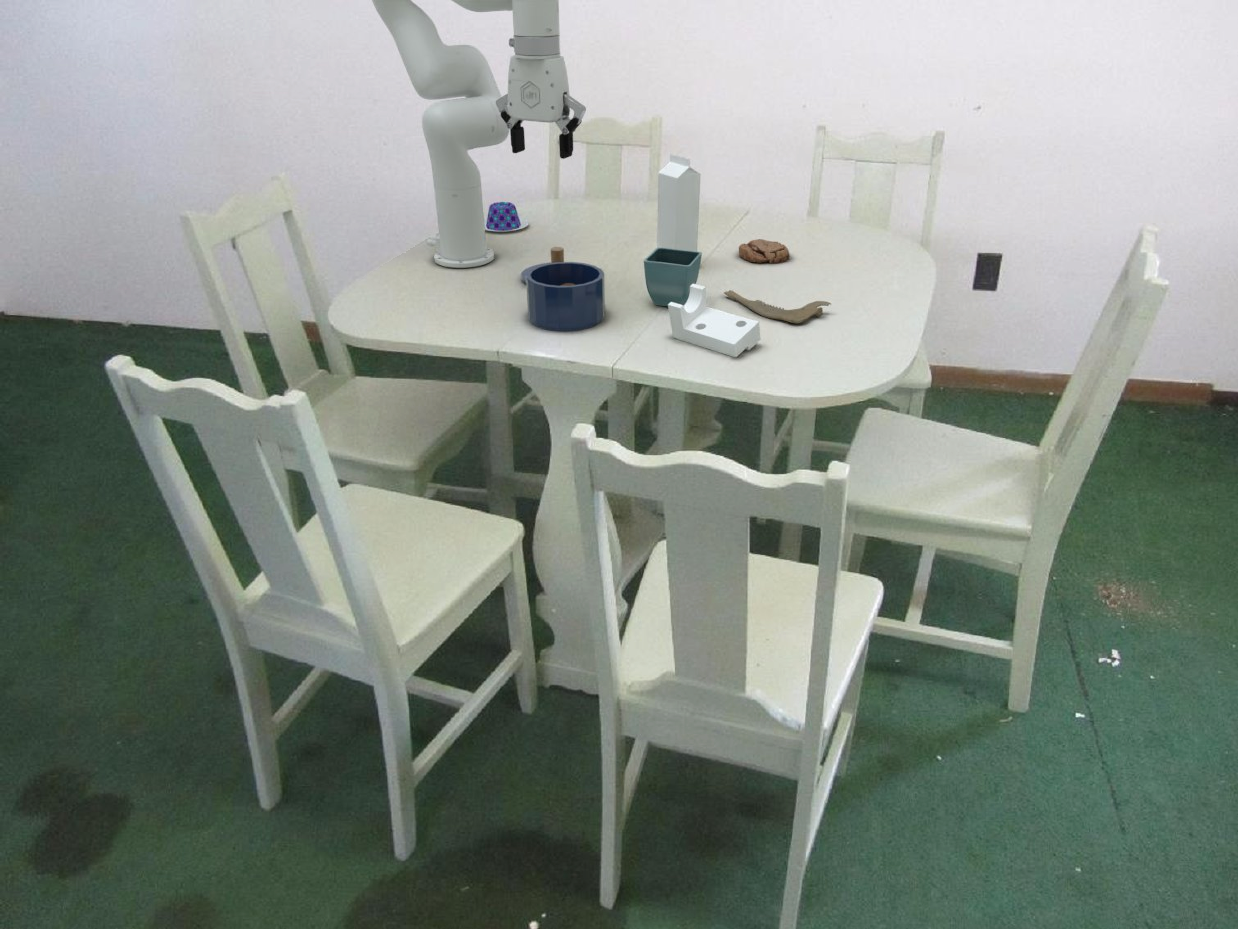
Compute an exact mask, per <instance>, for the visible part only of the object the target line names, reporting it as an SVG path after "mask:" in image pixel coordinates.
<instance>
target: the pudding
mask: <svg viewBox="0 0 1238 929" xmlns="http://www.w3.org/2000/svg"><path fill="white" fill-rule="evenodd" d="M529 224H530V222H529V220H527V219H524V218H522V217H519V214H518V211H517V207H516V205H515V204H514V203H512V202H509V201H499V202H493V203H491V204H489V206H488V212H487V218H484V226H485V231H489V232H496V233H507V232H513V231H514V232H515V231H518V230H521V229H524V228H527V227H528V226H529Z"/></svg>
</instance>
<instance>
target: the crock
mask: <svg viewBox="0 0 1238 929" xmlns="http://www.w3.org/2000/svg"><path fill="white" fill-rule="evenodd" d="M547 263H548V264H544V265H540V266H537V267H534V268H533V269H531V270H529V271H528V272H527V274H526V283H525V287H526V303H527V317H528V320H529V323H531V324H532V325H533V326H535V327H537V328H539V329H542V330H547V331H554V332H576V331H582V330H588V329H591V328H594V327H596V326H599V325H600V324H601V323H602V322H603V321H604V319H605V314H606V300H605V299H606V298H605V297H606V291H605V290H606V288H605V272H604V270H602V268H600V267H598V266H596V265H593V264H590V263H586V262H578V261H564V262H556V263H550V262H547ZM565 283H572V284H575V285H572V286H561V285H562V284H565Z"/></svg>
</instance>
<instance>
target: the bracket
mask: <svg viewBox="0 0 1238 929" xmlns="http://www.w3.org/2000/svg"><path fill="white" fill-rule="evenodd" d="M708 303H709V302H708V296H707V289H706V286H704V285H700V284H697V283H696V284H692V285H691V286H690V294H689V298H688V300H687V301H686V302H685V303H684V305H681V304H677V303H674V302H670V303H669V304H668V306H667V308H668V316H669V322H670V327H671V333H672V338H673V339H677V340H679V341H682V342H686V343H689V344H692V345H695V346H698V347H701V348H705V349H708V350H711V351H714V352H716V353H720V354H723V355H727V356H729V357H732V358H738V357H739V355H741V353H743V351H748V352H749V351H750V350H751V349H752V348H753V347H755V345H757V344H758V343H759V342H760V341H761V339H762V338H761V329H760V328H761V327H760V321H758V320H755V319H751V318H747V317H743V316H740V315H737V314H734V313H729V312H728V311H727V312H726V311H723V310H720V309H716V308H713V307H709V304H708Z"/></svg>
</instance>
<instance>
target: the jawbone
mask: <svg viewBox="0 0 1238 929" xmlns="http://www.w3.org/2000/svg"><path fill="white" fill-rule="evenodd" d="M723 294H724V295H725V296H727V297H729V298H731V299H732V300H733V301H738V302H739V303H740V304H742V305H743V306H745V307H746V308H748V309H750V310H751V311H753V312H754V313H756V314H758V315H760V316H762V317H764V318H768V319H773V320H779V321H785V322H788V323H791V324H800V323H803V322H806V321H807V320H808V319H809V318H810V317H812V316H815V317H817V318H820V317H821V316H822V315H823V312H824V311H823V310H824V309H823V306H824V307H829V306H832V303H831V302H829V301H825V300H816V301H812V302H810V303H807V304H806V305H804V306H802V307H800V308H794V309H785V308H784V307H781V306H775V305H772V304H769V303H766V302H765V301H762V300H760V299H756V300H749V299H747V298H744V297H743V296H742V295H740V294H738V293H736V292H735V291H734V290H731V289H730V290H728V291H724V292H723Z"/></svg>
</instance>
